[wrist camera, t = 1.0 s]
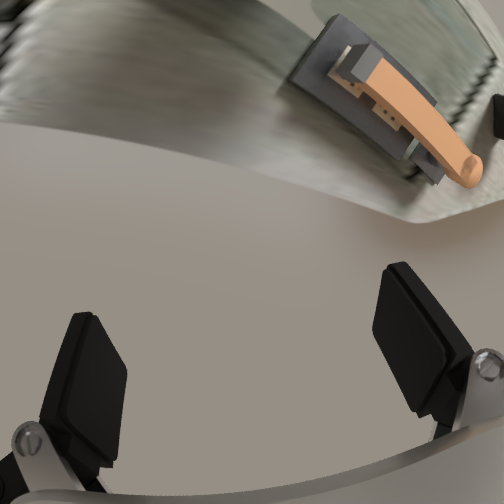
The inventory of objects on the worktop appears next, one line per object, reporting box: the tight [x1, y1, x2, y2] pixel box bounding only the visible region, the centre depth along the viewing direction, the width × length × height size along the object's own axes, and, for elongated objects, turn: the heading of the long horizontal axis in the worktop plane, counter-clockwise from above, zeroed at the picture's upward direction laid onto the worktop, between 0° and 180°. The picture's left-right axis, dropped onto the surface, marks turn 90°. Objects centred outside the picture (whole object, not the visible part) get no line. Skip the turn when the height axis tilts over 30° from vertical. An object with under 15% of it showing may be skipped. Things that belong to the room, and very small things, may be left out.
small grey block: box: [409, 143, 445, 185], centre depth 33 cm, size 6×6×4 cm
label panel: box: [288, 14, 437, 161], centre depth 29 cm, size 9×15×2 cm, turn 58°
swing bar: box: [335, 43, 483, 189], centre depth 26 cm, size 4×20×3 cm, turn 58°
